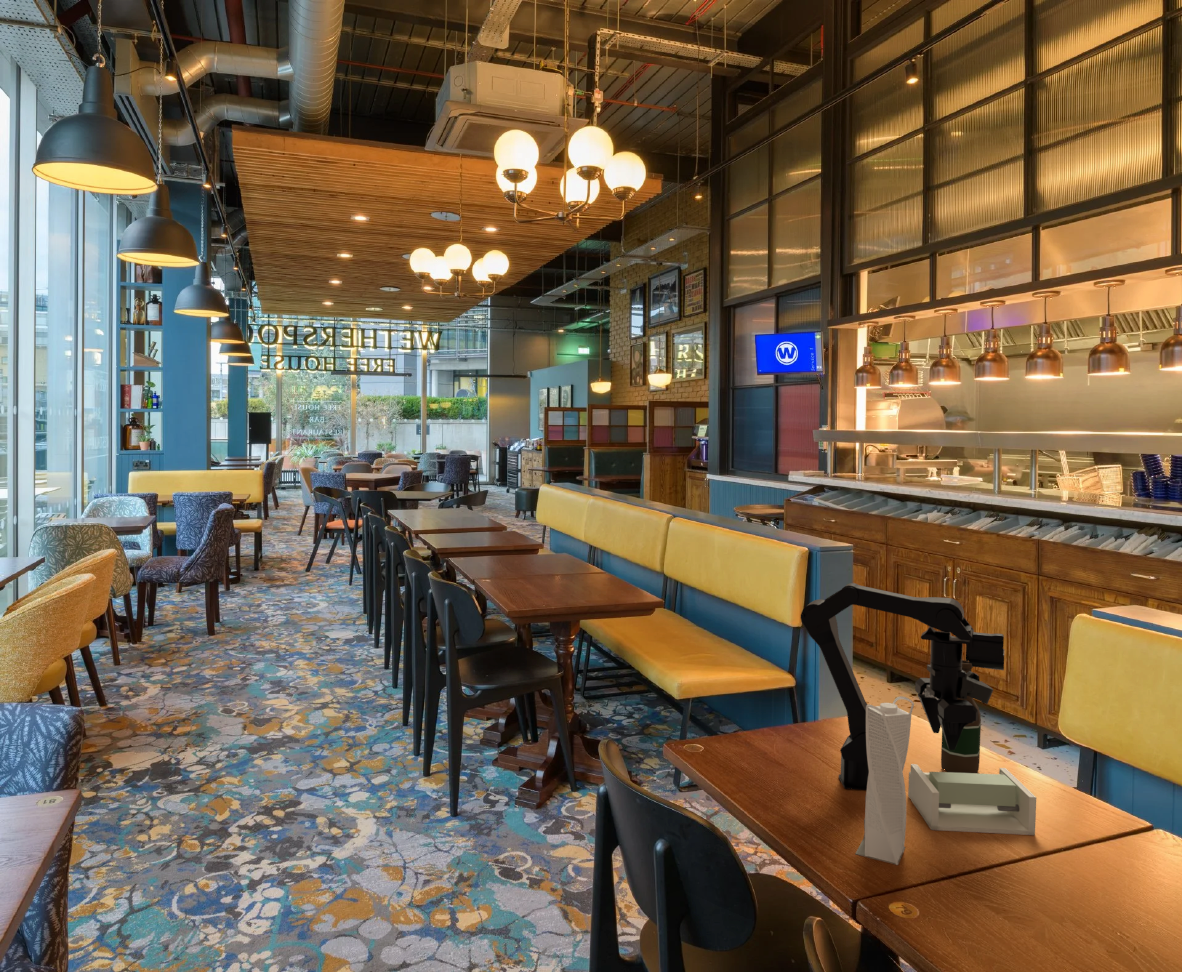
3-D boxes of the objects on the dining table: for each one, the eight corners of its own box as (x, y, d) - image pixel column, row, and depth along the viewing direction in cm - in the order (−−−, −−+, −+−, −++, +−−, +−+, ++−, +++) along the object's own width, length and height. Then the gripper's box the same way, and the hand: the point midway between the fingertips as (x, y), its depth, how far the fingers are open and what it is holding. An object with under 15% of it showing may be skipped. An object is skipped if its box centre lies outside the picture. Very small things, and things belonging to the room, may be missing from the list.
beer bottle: (983, 779, 172) (988, 667, 171) (944, 775, 174) (948, 665, 173) (974, 765, 180) (978, 658, 179) (936, 762, 182) (940, 655, 180)
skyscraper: (914, 851, 142) (918, 693, 141) (905, 872, 135) (910, 706, 134) (864, 839, 146) (868, 685, 145) (853, 858, 139) (858, 697, 138)
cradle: (931, 829, 149) (932, 792, 149) (908, 796, 164) (909, 761, 163) (1035, 835, 148) (1036, 797, 147) (1002, 800, 162) (1003, 766, 162)
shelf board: (937, 803, 153) (938, 782, 152) (928, 791, 158) (929, 771, 157) (1015, 806, 151) (1015, 785, 151) (1003, 794, 156) (1004, 774, 156)
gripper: (1008, 678, 150) (1005, 761, 151) (970, 652, 169) (968, 726, 170) (946, 676, 151) (943, 758, 152) (915, 650, 170) (913, 724, 171)
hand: (943, 741), depth 161 cm, fingers open, 9 cm apart
